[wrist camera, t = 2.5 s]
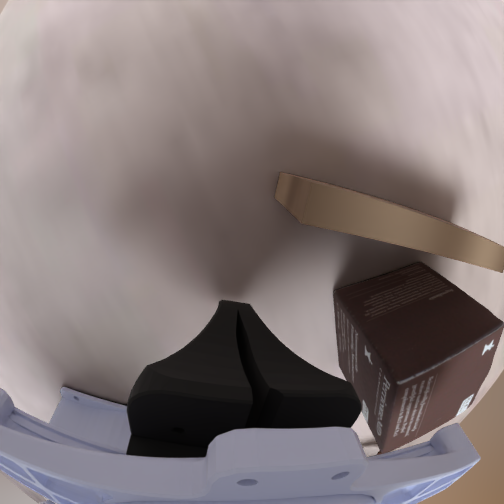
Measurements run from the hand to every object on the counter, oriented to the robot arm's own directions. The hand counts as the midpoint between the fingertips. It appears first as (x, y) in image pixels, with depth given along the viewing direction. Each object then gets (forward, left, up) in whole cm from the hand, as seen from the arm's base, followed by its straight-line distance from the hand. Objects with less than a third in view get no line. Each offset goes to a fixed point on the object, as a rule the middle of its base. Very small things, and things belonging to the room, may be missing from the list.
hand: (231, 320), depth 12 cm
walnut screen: (+6, +6, -2) cm, 9 cm away
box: (+9, 0, -2) cm, 9 cm away
